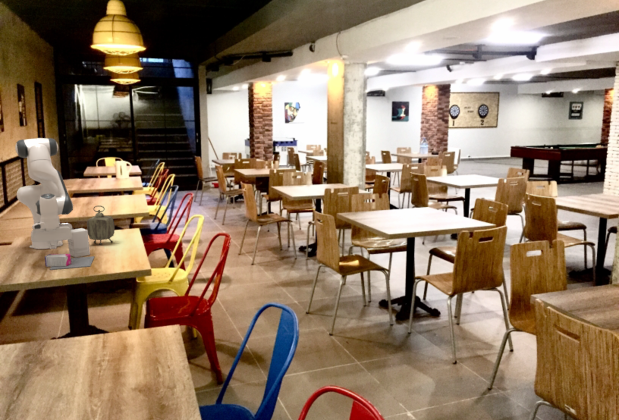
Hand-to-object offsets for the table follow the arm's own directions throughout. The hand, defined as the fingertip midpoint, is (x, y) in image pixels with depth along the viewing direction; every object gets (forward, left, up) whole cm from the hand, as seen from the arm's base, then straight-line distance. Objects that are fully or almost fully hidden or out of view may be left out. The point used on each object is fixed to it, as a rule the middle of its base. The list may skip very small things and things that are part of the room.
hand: (53, 248), depth 281 cm
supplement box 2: (-18, +10, -9) cm, 23 cm away
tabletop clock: (-41, +20, -9) cm, 47 cm away
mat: (0, +9, -9) cm, 13 cm away
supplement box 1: (+1, -3, -6) cm, 7 cm away
